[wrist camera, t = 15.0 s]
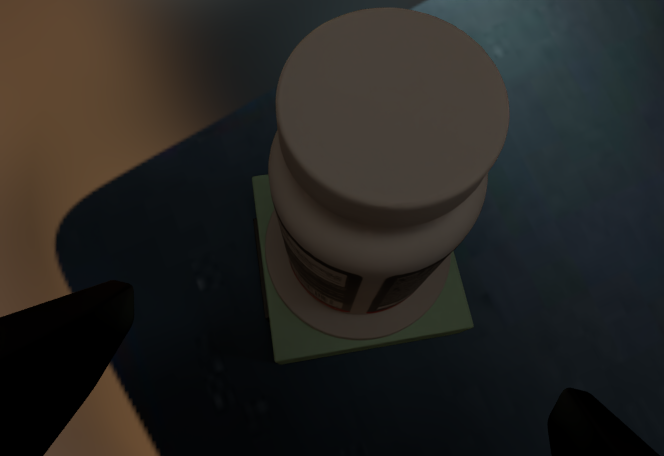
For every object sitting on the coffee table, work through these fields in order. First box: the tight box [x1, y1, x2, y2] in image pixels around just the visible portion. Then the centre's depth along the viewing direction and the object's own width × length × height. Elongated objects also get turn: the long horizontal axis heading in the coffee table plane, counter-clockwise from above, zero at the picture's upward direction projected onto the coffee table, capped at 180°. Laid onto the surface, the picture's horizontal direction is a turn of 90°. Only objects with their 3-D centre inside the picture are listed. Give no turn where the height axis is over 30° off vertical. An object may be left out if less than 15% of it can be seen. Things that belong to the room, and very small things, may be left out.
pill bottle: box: [268, 8, 510, 314], centre depth 13 cm, size 6×6×10 cm
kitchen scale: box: [252, 174, 474, 365], centre depth 20 cm, size 8×8×3 cm
